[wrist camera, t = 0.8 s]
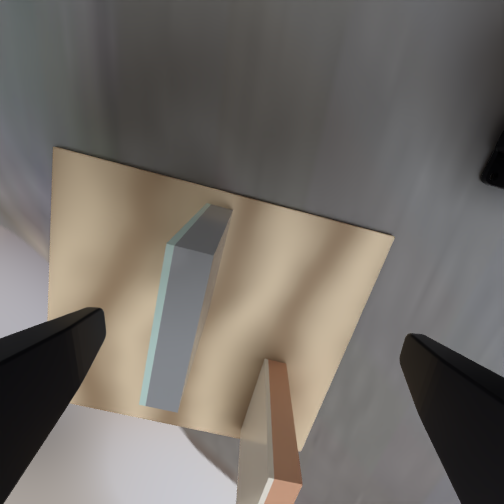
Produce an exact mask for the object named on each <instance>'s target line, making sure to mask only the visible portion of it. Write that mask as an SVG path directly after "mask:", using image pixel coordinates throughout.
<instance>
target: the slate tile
mask: <svg viewBox="0 0 504 504" xmlns="http://www.w3.org/2000/svg"><path fill="white" fill-rule="evenodd" d="M232 213H233V210H231V209H227V208H223V207H220V206H216V205H212V204H208V203H206V204H205V205H204V206H203V207H202V208H201V209H200V210H199V211H198V212H197V213H196V214H195V215H194V216H193V217H192V218H191V219H190V220H189V221H188V222H187V223H186V224H185V225H184V226H183V227H182V228H181V229H180V230H179V231H178V232H177V233H176V234H175V235H174V236H173V237H172V238H171V239H170V240H169V241H168V242H167V243H166V249H165V255H164V261H163V266H162V272H161V278H160V284H159V290H158V296H157V302H156V308H155V313H154V319H153V325H152V331H151V337H150V343H149V349H148V355H147V360H146V366H145V372H144V378H143V384H142V390H141V396H140V401H139V405H143V406H148V407H152V408H157V409H162V410H167V411H171V412H176V413H178V410H179V407H180V403H181V400H182V397H183V394H184V390H185V387H186V384H187V381H188V377H189V374H190V371H191V368H192V364H193V361H194V358H195V355H196V351H197V348H198V345H199V342H200V338H201V335H202V332H203V329H204V325H205V322H206V319H207V316H208V312H209V308H210V304H211V300H212V296H213V292H214V287H215V283H216V279H217V275H218V271H219V267H220V263H221V258H222V254H223V250H224V246H225V242H226V238H227V233H228V229H229V225H230V221H231V217H232Z"/></svg>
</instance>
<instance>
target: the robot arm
mask: <svg viewBox="0 0 504 504" xmlns="http://www.w3.org/2000/svg"><path fill="white" fill-rule="evenodd" d="M492 173H493V174H494V176H493V178H492V179H491V180H490V176H491V174H492ZM481 179H482V182H483V183H485V184H487V185H491V186H494V187H498V188H501V189H504V131H503V133H502V135H501V137H500V139H499V141H498V143H497V145H496V148H495V150H494V152H493V154H492V156H491V158H490V160H489V162H488V164H487V166H486V168H485V170H484V172H483V174H482V177H481ZM105 337H106V324H105V315H104V311H103V309H102V308H98V307H86V308H83V309H80V310H77V311H75V312H72V313H69V314H66V315H64V316H61V317H58V318H55V319H53V320H50V321H47V322H44V323H42V324H39V325H36V326H33V327H31V328H28V329H25V330H23V331H20V332H17V333H14V334H11V335H9V336H6V337H3V338H0V504H4V502H5V500H6V499H7V498H8V496H9V495H10V493H11V491H12V490H13V488H14V487H15V485H16V484H17V482H18V481H19V479H20V478H21V476H22V475H23V473H24V472H25V470H26V469H27V467H28V466H29V464H30V462H31V461H32V459H33V458H34V456H35V455H36V453H37V452H38V450H39V449H40V447H41V446H42V444H43V443H44V441H45V440H46V438H47V437H48V435H49V433H50V432H51V430H52V429H53V427H54V426H55V424H56V423H57V421H58V420H59V418H60V417H61V415H62V414H63V412H64V411H65V409H66V408H67V406H68V404H69V403H70V401H71V400H72V398H73V397H74V395H75V394H76V392H77V391H78V389H79V387H80V386H81V384H82V382H83V380H84V379H85V377H86V375H87V373H88V371H89V369H90V367H91V365H92V363H93V361H94V359H95V358H96V356H97V354H98V352H99V350H100V348H101V346H102V344H103V342H104V340H105ZM400 365H401V368H402V371H403V373H404V376H405V379H406V382H407V384H408V387H409V390H410V393H411V395H412V398H413V401H414V404H415V406H416V409H417V411H418V414H419V416H420V418H421V421H422V423H423V425H424V427H425V429H426V431H427V433H428V435H429V438H430V440H431V442H432V444H433V446H434V448H435V450H436V452H437V454H438V456H439V458H440V460H441V463H442V465H443V467H444V469H445V471H446V473H447V475H448V477H449V479H450V481H451V483H452V486H453V488H454V490H455V492H456V494H457V496H458V498H459V500H460V502H461V504H504V377H502V376H500V375H498V374H496V373H494V372H492V371H491V370H489V369H487V368H485V367H483V366H481V365H479V364H477V363H476V362H474V361H472V360H470V359H468V358H466V357H464V356H463V355H461V354H459V353H457V352H455V351H453V350H451V349H449V348H448V347H446V346H444V345H442V344H440V343H438V342H436V341H435V340H433V339H431V338H429V337H427V336H425V335H423V334H413V333H409V334H408V335H407V336H406V337H405V340H404V344H403V347H402V351H401V354H400Z"/></svg>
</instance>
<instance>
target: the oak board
mask: <svg viewBox="0 0 504 504" xmlns="http://www.w3.org/2000/svg"><path fill="white" fill-rule="evenodd" d="M206 203H208V204H212V205H216V206H220V207H223V208H227V209H231V210H233V213H232V217H231V221H230V225H229V229H228V233H227V238H226V242H225V246H224V250H223V254H222V258H221V263H220V267H219V271H218V275H217V279H216V283H215V287H214V292H213V296H212V300H211V304H210V308H209V312H208V316H207V319H206V322H205V325H204V329H203V332H202V335H201V338H200V342H199V345H198V348H197V351H196V355H195V358H194V361H193V364H192V368H191V371H190V374H189V377H188V381H187V384H186V387H185V390H184V394H183V397H182V400H181V403H180V407H179V410H178V413H176V412H171V411H167V410H162V409H157V408H152V407H148V406H143V405H139V401H140V396H141V390H142V384H143V378H144V372H145V366H146V360H147V355H148V349H149V343H150V337H151V331H152V325H153V319H154V313H155V308H156V302H157V296H158V290H159V284H160V278H161V272H162V266H163V261H164V255H165V249H166V243H167V242H168V241H169V240H170V239H171V238H172V237H173V236H174V235H175V234H176V233H177V232H178V231H179V230H180V229H181V228H182V227H183V226H184V225H185V224H186V223H187V222H188V221H189V220H190V219H191V218H192V217H193V216H194V215H195V214H196V213H197V212H198V211H199V210H200V209H201V208H202V207H203V206H204V205H205V204H206ZM394 238H395V237H394V236H392V235H389V234H385V233H381V232H377V231H373V230H370V229H366V228H362V227H358V226H354V225H351V224H347V223H343V222H339V221H335V220H332V219H328V218H324V217H320V216H317V215H313V214H309V213H305V212H301V211H298V210H294V209H290V208H286V207H282V206H279V205H275V204H271V203H267V202H263V201H260V200H256V199H252V198H248V197H245V196H241V195H237V194H233V193H229V192H226V191H222V190H218V189H214V188H210V187H207V186H203V185H199V184H195V183H191V182H188V181H184V180H180V179H176V178H173V177H169V176H165V175H161V174H157V173H154V172H150V171H146V170H142V169H138V168H135V167H131V166H127V165H123V164H119V163H116V162H112V161H108V160H104V159H100V158H97V157H93V156H89V155H85V154H82V153H78V152H74V151H70V150H66V149H63V148H59V147H53V166H52V197H51V229H50V260H49V291H48V321H50V320H53V319H55V318H58V317H61V316H64V315H66V314H69V313H72V312H75V311H77V310H80V309H83V308H86V307H98V308H102V309H103V311H104V315H105V324H106V337H105V340H104V342H103V344H102V346H101V348H100V350H99V352H98V354H97V356H96V358H95V359H94V361H93V363H92V365H91V367H90V369H89V371H88V373H87V375H86V377H85V379H84V380H83V382H82V384H81V386H80V387H79V389H78V391H77V392H76V394H75V395H74V397H73V398H72V400H71V401H70V403H71V404H76V405H80V406H86V407H90V408H95V409H100V410H104V411H110V412H114V413H119V414H124V415H128V416H133V417H138V418H143V419H148V420H152V421H157V422H162V423H167V424H172V425H176V426H181V427H186V428H191V429H196V430H200V431H205V432H210V433H215V434H220V435H224V436H229V437H234V438H239V439H240V434H241V428H242V425H243V422H244V419H245V416H246V413H247V410H248V407H249V404H250V401H251V398H252V395H253V392H254V389H255V386H256V383H257V380H258V377H259V374H260V371H261V368H262V365H263V362H264V359H269V360H273V361H278V362H282V363H286V365H287V373H288V380H289V388H290V395H291V403H292V410H293V417H294V425H295V432H296V440H297V447H298V451H301V450H302V448H303V446H304V443H305V441H306V439H307V437H308V434H309V432H310V430H311V427H312V425H313V423H314V421H315V418H316V416H317V414H318V411H319V409H320V407H321V405H322V402H323V400H324V398H325V395H326V393H327V391H328V389H329V386H330V384H331V382H332V380H333V377H334V375H335V373H336V370H337V368H338V366H339V364H340V361H341V359H342V357H343V354H344V352H345V350H346V348H347V345H348V343H349V341H350V339H351V336H352V334H353V332H354V329H355V327H356V325H357V323H358V320H359V318H360V316H361V313H362V311H363V309H364V307H365V304H366V302H367V300H368V298H369V295H370V293H371V291H372V288H373V286H374V284H375V282H376V279H377V277H378V275H379V272H380V270H381V268H382V266H383V263H384V261H385V259H386V257H387V254H388V252H389V250H390V247H391V245H392V243H393V241H394Z"/></svg>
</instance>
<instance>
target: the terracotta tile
mask: <svg viewBox="0 0 504 504" xmlns="http://www.w3.org/2000/svg"><path fill="white" fill-rule="evenodd" d="M301 487H302V477H301V470H300V462H299V455H298V447H297V440H296V432H295V425H294V417H293V410H292V403H291V395H290V388H289V380H288V373H287V365H286V363H282V362H278V361H273V360H269V359H264V362H263V365H262V368H261V371H260V374H259V377H258V380H257V383H256V386H255V389H254V392H253V395H252V398H251V401H250V404H249V407H248V410H247V413H246V416H245V419H244V422H243V425H242V428H241V434H240V450H239V467H238V483H237V501H236V504H294V502H295V500H296V497H297V495H298V493H299V491H300V489H301Z"/></svg>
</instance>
